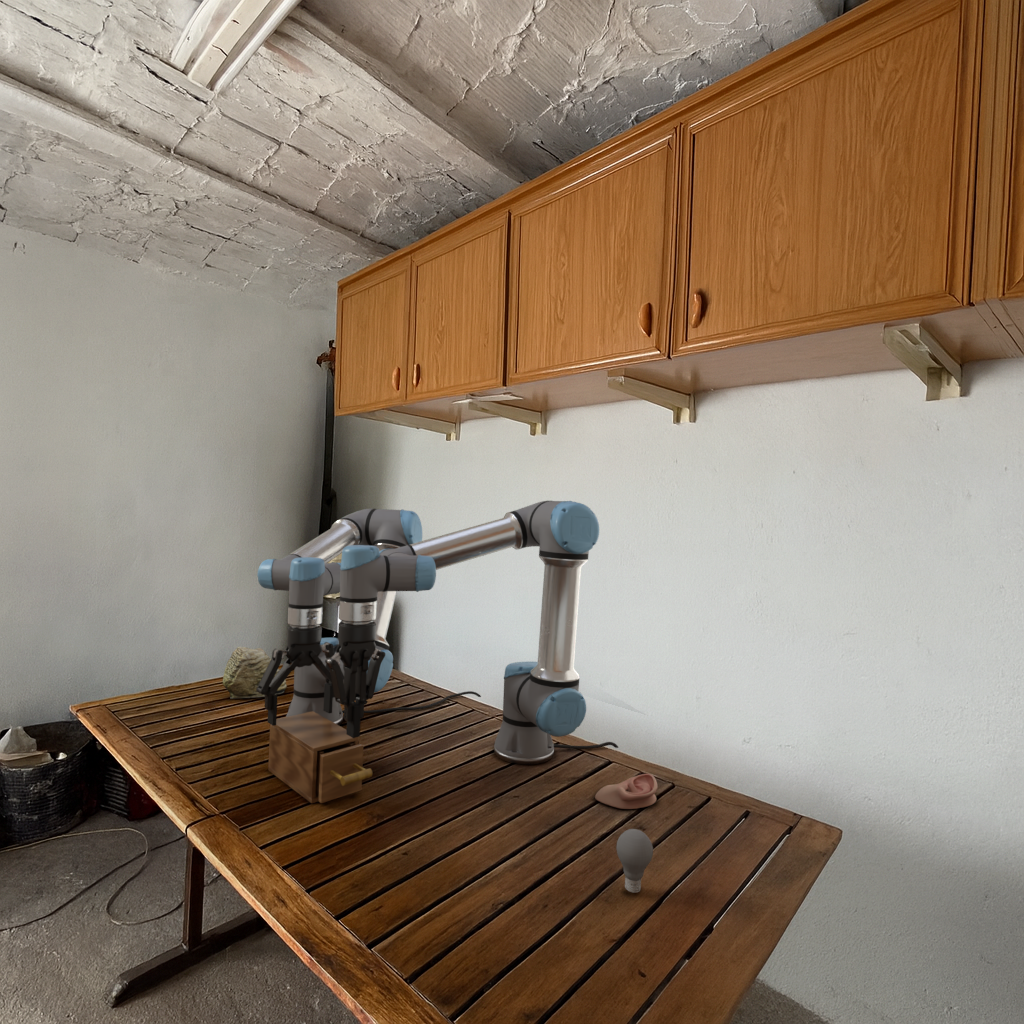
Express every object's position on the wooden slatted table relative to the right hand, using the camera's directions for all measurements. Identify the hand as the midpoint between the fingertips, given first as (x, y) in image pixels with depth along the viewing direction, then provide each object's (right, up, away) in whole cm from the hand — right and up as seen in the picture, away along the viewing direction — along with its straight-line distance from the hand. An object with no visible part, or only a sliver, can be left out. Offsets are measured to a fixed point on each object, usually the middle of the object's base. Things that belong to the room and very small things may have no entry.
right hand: (353, 735), depth 130 cm
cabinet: (-12, -14, +12) cm, 22 cm away
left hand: (-16, -1, +15) cm, 22 cm away
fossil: (-48, -11, +68) cm, 84 cm away
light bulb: (+53, -18, -24) cm, 61 cm away
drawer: (-8, -13, +7) cm, 17 cm away
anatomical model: (+58, -17, +9) cm, 61 cm away
